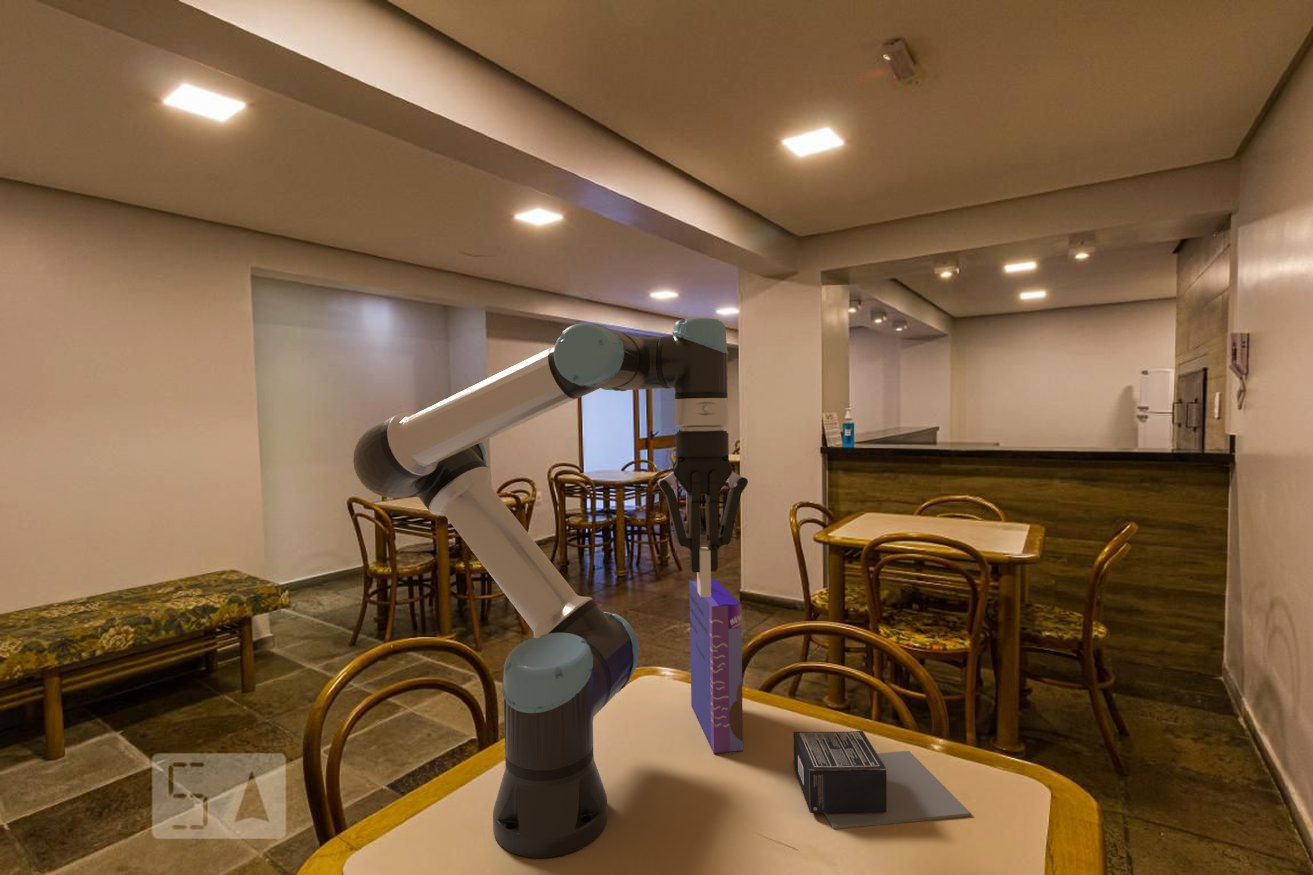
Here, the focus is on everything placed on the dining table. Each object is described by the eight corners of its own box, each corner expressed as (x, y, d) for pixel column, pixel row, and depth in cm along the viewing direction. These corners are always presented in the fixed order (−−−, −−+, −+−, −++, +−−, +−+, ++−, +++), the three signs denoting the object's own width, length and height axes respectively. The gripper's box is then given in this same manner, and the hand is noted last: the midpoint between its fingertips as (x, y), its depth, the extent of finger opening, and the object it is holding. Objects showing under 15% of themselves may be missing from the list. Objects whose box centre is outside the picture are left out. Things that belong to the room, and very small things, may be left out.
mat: (833, 828, 82) (833, 825, 82) (792, 762, 98) (792, 760, 98) (970, 815, 84) (970, 812, 84) (909, 753, 100) (909, 750, 100)
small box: (809, 817, 84) (889, 815, 84) (808, 769, 84) (887, 767, 84) (794, 772, 95) (864, 771, 94) (792, 729, 94) (863, 728, 94)
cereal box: (743, 751, 102) (741, 603, 101) (714, 754, 101) (711, 605, 100) (716, 703, 119) (714, 576, 118) (691, 705, 118) (689, 578, 117)
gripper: (659, 430, 85) (662, 603, 86) (753, 428, 87) (755, 599, 88) (653, 429, 93) (655, 589, 93) (740, 428, 94) (742, 585, 95)
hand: (704, 593), depth 91 cm, fingers closed
